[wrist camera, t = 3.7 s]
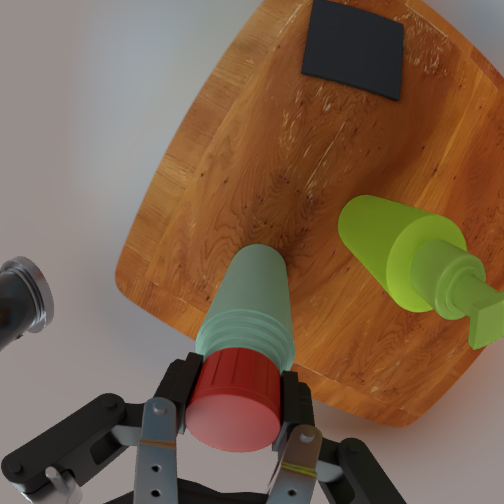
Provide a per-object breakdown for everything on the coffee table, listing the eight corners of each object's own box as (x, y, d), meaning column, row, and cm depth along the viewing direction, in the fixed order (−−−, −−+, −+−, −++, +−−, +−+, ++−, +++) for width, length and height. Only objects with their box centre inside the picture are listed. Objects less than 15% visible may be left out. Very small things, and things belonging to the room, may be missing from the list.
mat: (300, 74, 23) (301, 72, 23) (313, 0, 21) (313, -3, 20) (397, 101, 23) (399, 100, 23) (401, 26, 20) (403, 24, 20)
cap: (196, 397, 14) (181, 441, 11) (203, 338, 13) (184, 383, 10) (271, 411, 14) (269, 458, 11) (290, 354, 13) (293, 403, 10)
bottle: (226, 291, 30) (168, 438, 11) (235, 238, 28) (169, 354, 10) (279, 301, 30) (281, 459, 11) (291, 249, 28) (318, 382, 10)
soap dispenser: (405, 242, 27) (543, 339, 8) (344, 260, 28) (440, 402, 9) (395, 186, 25) (558, 224, 6) (331, 203, 27) (448, 275, 7)
